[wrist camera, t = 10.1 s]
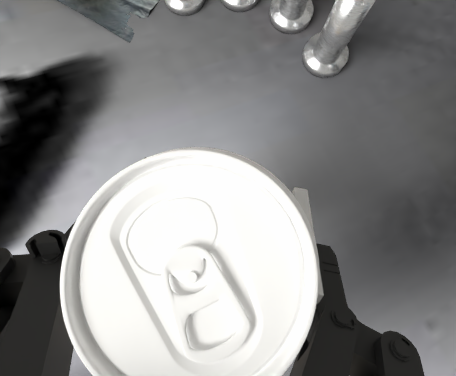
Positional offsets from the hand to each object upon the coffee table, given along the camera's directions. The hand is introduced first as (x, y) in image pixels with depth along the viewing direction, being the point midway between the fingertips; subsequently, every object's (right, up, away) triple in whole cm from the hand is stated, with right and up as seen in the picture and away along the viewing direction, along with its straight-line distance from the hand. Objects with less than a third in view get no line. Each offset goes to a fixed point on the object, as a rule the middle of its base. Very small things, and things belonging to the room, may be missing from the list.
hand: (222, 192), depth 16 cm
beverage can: (-1, -4, +4) cm, 5 cm away
